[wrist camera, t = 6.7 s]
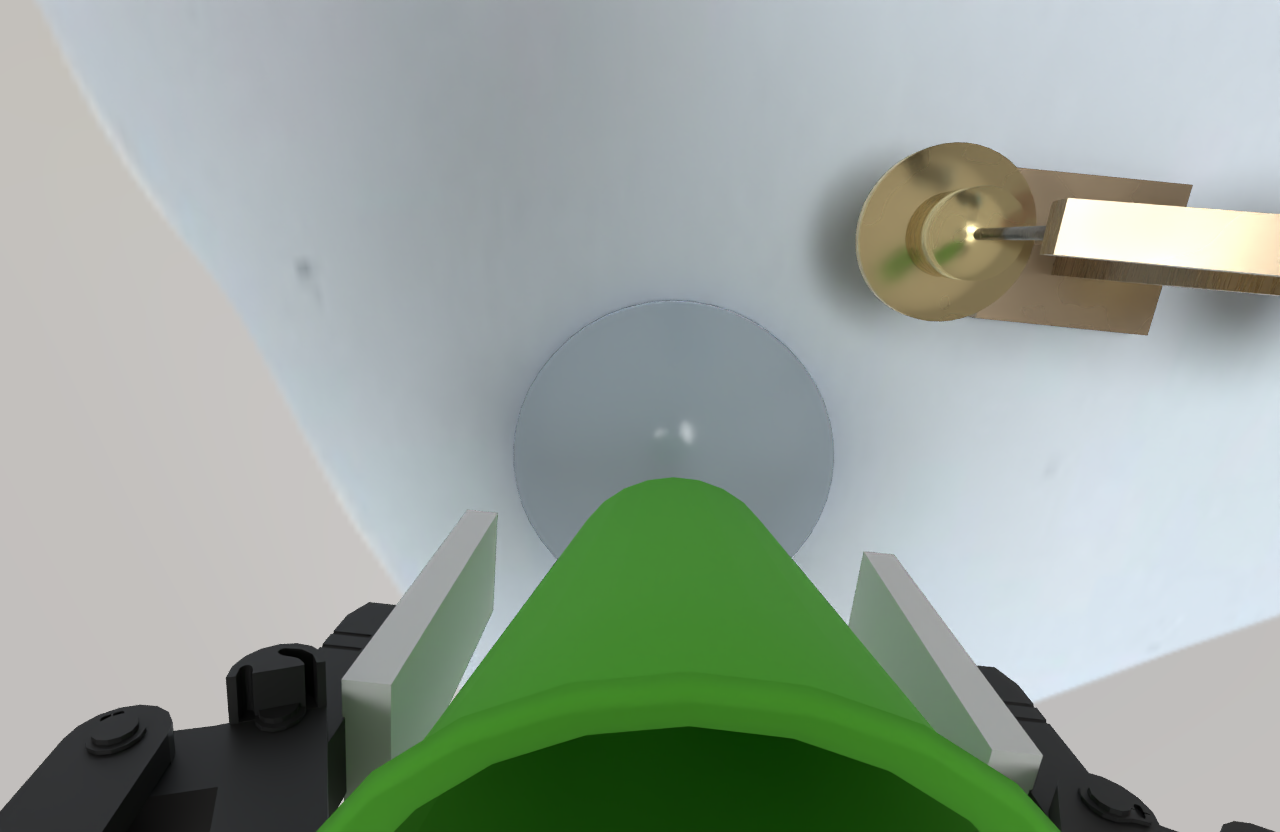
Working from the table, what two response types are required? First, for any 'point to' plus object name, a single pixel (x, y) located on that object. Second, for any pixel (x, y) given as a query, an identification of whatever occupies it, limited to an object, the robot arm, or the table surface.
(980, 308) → the balance
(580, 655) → the cup
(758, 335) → the dish
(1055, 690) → the table surface
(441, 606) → the robot arm
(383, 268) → the table surface
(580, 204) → the table surface
